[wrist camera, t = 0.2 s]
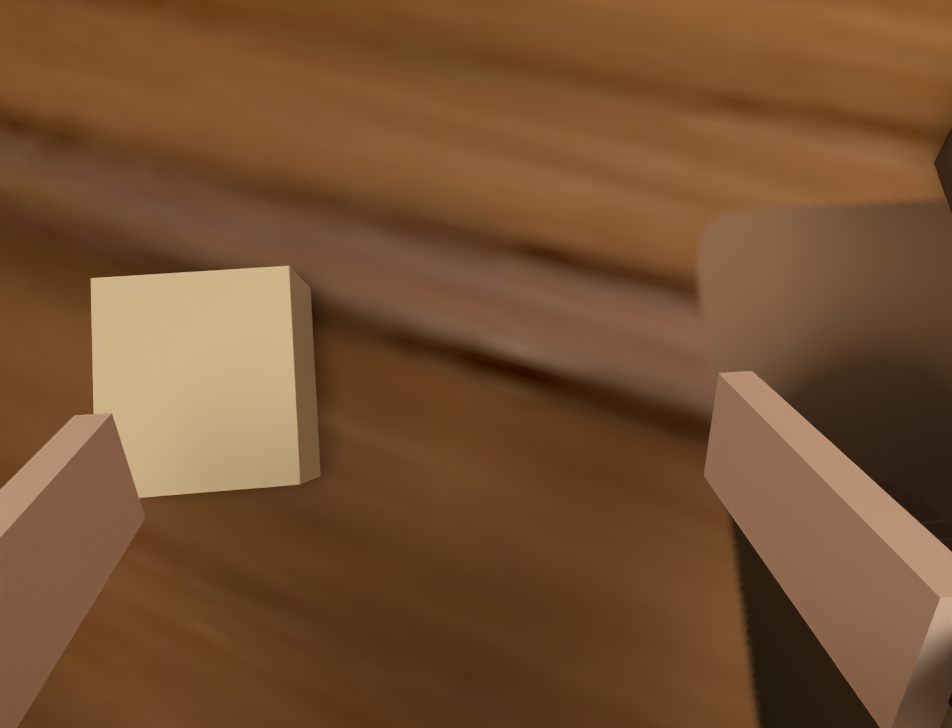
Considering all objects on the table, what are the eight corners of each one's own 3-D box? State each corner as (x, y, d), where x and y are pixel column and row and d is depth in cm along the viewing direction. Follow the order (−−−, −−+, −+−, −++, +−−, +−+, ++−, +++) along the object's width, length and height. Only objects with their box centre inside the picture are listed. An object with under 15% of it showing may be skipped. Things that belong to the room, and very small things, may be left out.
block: (321, 475, 30) (300, 484, 25) (148, 489, 29) (95, 501, 25) (311, 288, 31) (289, 265, 26) (142, 300, 30) (90, 278, 26)
